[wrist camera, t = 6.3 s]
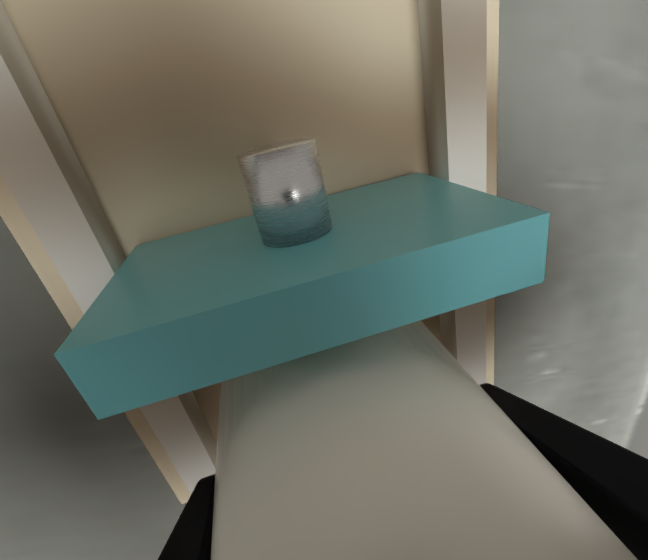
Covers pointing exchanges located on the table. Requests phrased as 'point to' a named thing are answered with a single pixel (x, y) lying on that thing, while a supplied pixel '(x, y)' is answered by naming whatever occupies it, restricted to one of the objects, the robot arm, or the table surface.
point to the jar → (387, 465)
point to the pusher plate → (295, 278)
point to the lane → (228, 138)
